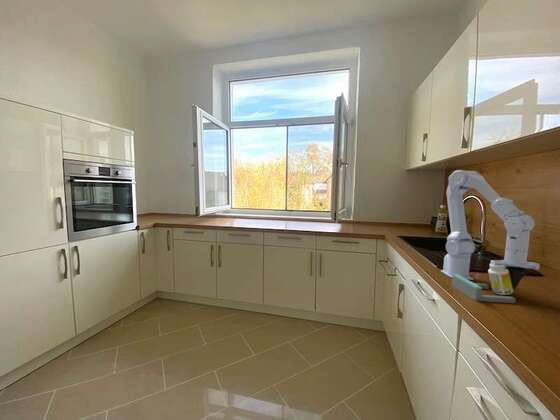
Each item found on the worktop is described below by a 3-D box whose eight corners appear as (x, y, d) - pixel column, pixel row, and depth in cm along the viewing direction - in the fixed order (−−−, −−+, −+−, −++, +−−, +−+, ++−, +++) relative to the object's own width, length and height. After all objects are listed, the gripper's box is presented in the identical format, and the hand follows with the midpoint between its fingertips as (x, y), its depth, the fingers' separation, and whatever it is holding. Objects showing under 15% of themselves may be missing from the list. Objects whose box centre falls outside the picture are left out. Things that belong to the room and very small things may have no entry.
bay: (451, 285, 96) (452, 273, 96) (485, 287, 95) (486, 275, 95) (475, 300, 83) (476, 287, 83) (515, 303, 82) (516, 289, 82)
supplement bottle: (513, 288, 90) (507, 261, 89) (513, 296, 86) (507, 267, 85) (492, 287, 93) (486, 261, 93) (492, 294, 89) (486, 267, 89)
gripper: (503, 251, 85) (499, 291, 86) (550, 253, 84) (545, 293, 85) (487, 246, 92) (483, 283, 93) (530, 248, 91) (526, 285, 92)
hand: (511, 287), depth 89 cm, fingers closed
